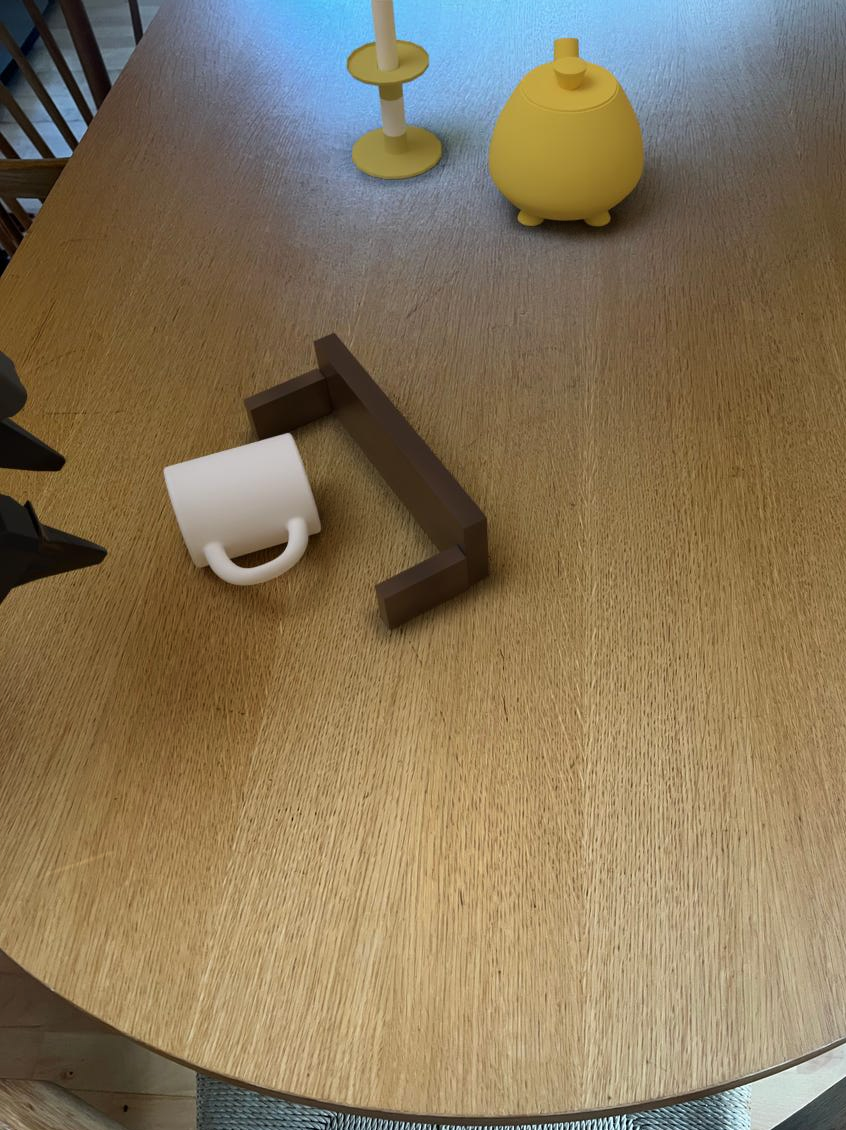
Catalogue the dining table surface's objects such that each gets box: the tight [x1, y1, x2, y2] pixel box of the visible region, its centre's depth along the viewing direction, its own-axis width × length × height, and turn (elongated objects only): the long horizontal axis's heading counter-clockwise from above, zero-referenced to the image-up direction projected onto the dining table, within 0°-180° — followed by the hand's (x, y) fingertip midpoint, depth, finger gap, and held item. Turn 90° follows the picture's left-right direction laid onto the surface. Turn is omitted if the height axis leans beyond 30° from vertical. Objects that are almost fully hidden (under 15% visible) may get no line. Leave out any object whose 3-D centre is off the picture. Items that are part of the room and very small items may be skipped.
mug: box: [163, 432, 322, 586], centre depth 77 cm, size 12×10×8 cm
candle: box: [346, 0, 443, 180], centre depth 100 cm, size 10×10×27 cm
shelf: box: [242, 332, 490, 631], centre depth 80 cm, size 9×24×7 cm, turn 32°
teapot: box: [488, 37, 645, 227], centre depth 101 cm, size 20×16×14 cm
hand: (82, 509), depth 67 cm, fingers open, 9 cm apart
